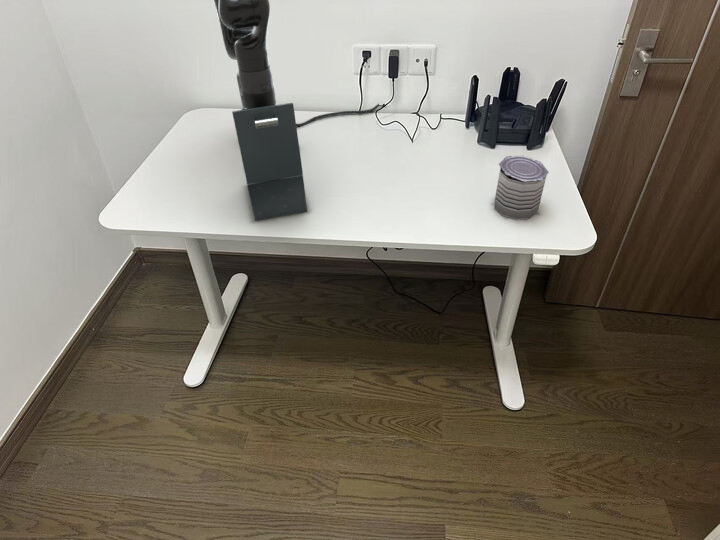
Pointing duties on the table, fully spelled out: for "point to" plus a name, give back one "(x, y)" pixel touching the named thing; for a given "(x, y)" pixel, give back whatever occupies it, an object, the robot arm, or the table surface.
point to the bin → (277, 197)
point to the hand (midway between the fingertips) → (268, 151)
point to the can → (519, 187)
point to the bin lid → (268, 142)
